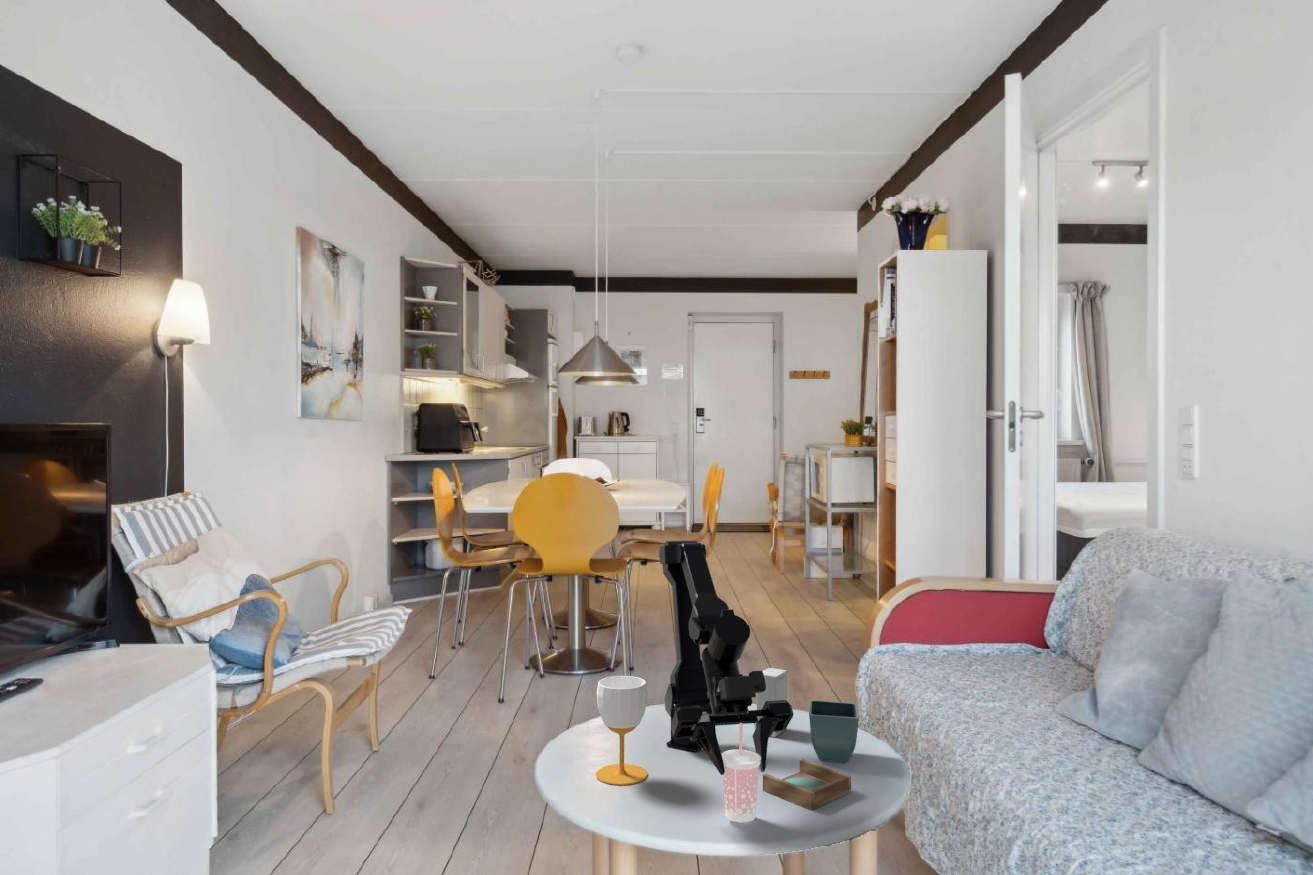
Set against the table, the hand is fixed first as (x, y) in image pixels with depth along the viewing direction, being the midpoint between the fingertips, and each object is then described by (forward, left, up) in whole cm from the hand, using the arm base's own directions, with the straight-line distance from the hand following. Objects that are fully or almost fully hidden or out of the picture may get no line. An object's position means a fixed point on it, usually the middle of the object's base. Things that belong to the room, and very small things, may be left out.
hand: (743, 772), depth 123 cm
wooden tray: (+4, +16, -8) cm, 19 cm away
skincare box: (-12, +40, -8) cm, 43 cm away
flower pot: (+3, +33, -8) cm, 35 cm away
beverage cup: (-1, +1, -7) cm, 7 cm away
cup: (-26, +6, -8) cm, 28 cm away
